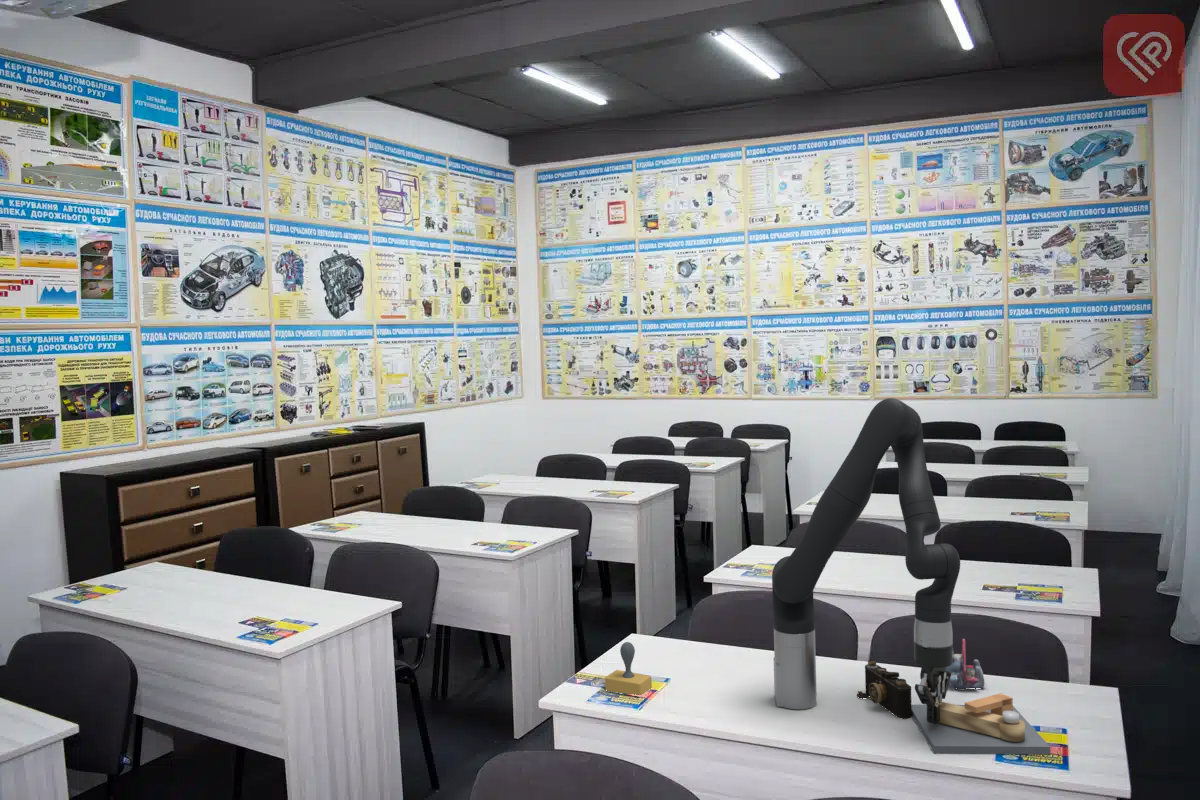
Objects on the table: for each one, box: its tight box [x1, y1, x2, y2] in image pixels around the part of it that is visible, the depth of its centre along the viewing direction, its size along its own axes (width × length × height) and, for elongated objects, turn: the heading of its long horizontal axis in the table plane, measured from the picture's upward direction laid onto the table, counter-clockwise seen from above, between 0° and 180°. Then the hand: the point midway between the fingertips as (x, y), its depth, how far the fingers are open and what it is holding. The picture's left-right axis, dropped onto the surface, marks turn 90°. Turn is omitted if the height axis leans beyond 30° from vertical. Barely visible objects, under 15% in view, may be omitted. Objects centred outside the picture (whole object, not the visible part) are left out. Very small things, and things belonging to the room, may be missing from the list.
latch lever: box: [938, 701, 1025, 742], centre depth 186 cm, size 20×5×3 cm, turn 48°
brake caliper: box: [946, 638, 985, 690], centre depth 215 cm, size 11×11×12 cm
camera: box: [856, 660, 913, 720], centre depth 204 cm, size 16×7×8 cm, turn 12°
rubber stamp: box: [604, 641, 653, 695], centre depth 218 cm, size 10×6×12 cm, turn 60°
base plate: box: [911, 704, 1051, 755], centre depth 188 cm, size 22×21×6 cm
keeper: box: [964, 692, 1014, 716], centre depth 187 cm, size 10×3×6 cm, turn 115°
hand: (933, 722), depth 188 cm, fingers closed
